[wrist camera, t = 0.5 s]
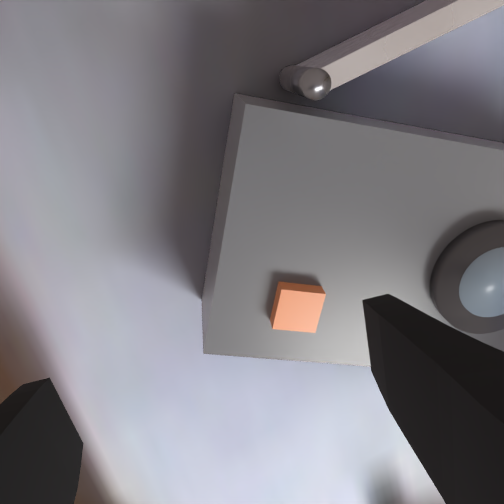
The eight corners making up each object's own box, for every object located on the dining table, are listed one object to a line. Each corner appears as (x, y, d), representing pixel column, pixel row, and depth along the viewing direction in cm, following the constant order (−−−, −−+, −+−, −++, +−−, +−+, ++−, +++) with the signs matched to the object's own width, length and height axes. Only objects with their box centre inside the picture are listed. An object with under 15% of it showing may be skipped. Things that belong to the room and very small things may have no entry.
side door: (513, -64, 16) (602, -96, 12) (520, -22, 16) (606, -41, 13) (270, 58, 17) (290, 59, 13) (285, 95, 17) (308, 105, 14)
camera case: (551, 151, 20) (652, 178, 15) (476, 327, 23) (541, 390, 19) (234, 93, 17) (248, 106, 13) (201, 300, 20) (203, 365, 16)
